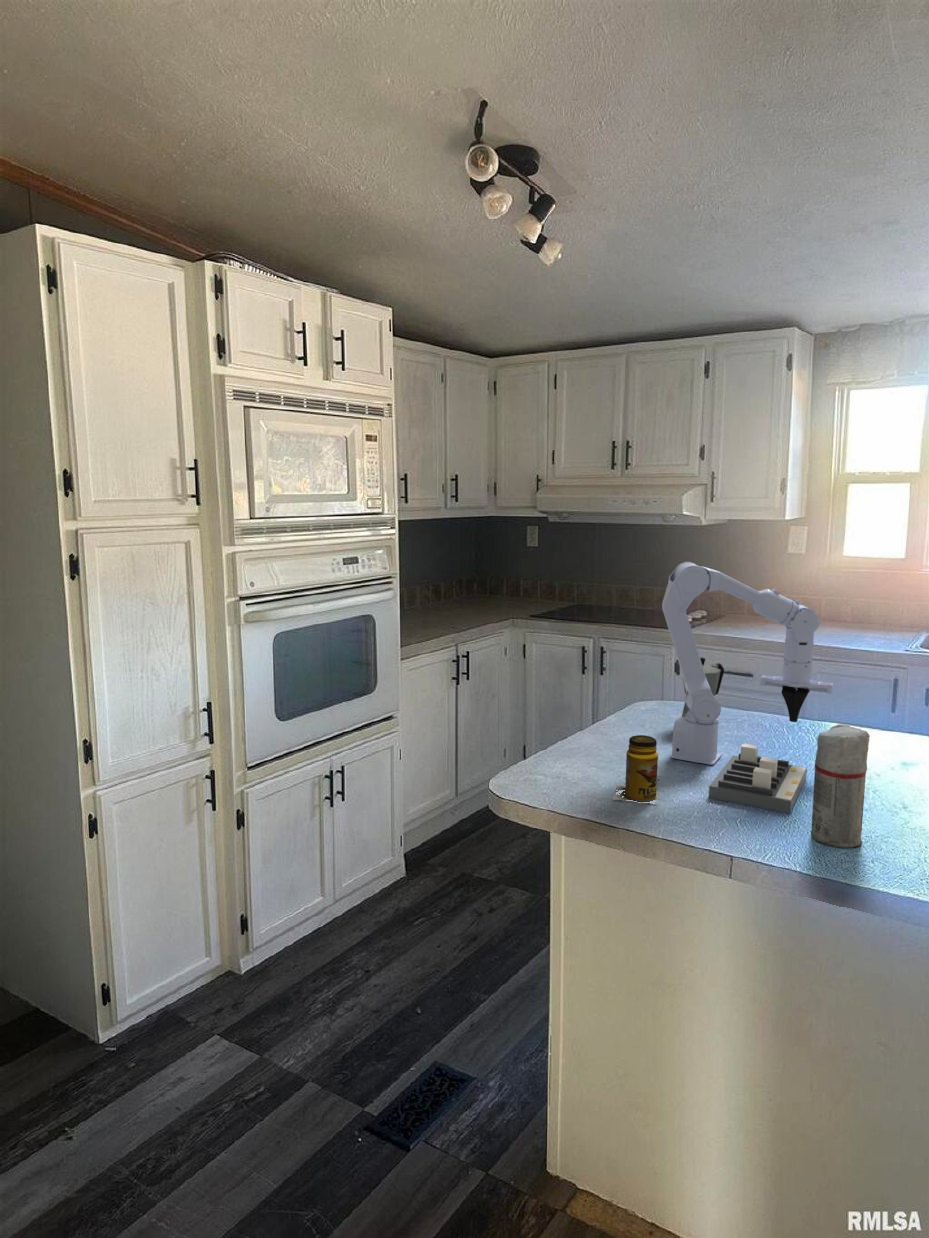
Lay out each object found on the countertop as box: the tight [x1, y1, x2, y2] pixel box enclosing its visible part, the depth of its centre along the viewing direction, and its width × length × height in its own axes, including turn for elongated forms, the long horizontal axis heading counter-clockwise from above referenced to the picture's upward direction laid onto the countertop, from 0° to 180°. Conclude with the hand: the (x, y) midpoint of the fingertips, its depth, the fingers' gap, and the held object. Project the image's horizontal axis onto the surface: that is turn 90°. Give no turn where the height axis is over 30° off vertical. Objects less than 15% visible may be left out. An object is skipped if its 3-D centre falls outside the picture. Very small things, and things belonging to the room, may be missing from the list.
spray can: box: [810, 723, 870, 849], centre depth 134 cm, size 8×8×20 cm
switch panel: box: [708, 752, 808, 814], centre depth 159 cm, size 15×21×3 cm
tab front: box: [752, 767, 772, 789], centre depth 152 cm, size 3×2×4 cm
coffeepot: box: [681, 657, 725, 717], centre depth 199 cm, size 15×9×18 cm, turn 126°
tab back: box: [740, 742, 759, 763], centre depth 166 cm, size 3×2×4 cm
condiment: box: [612, 734, 660, 806], centre depth 154 cm, size 7×8×12 cm
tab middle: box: [759, 756, 779, 778], centre depth 157 cm, size 3×2×4 cm
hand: (793, 720), depth 173 cm, fingers closed
